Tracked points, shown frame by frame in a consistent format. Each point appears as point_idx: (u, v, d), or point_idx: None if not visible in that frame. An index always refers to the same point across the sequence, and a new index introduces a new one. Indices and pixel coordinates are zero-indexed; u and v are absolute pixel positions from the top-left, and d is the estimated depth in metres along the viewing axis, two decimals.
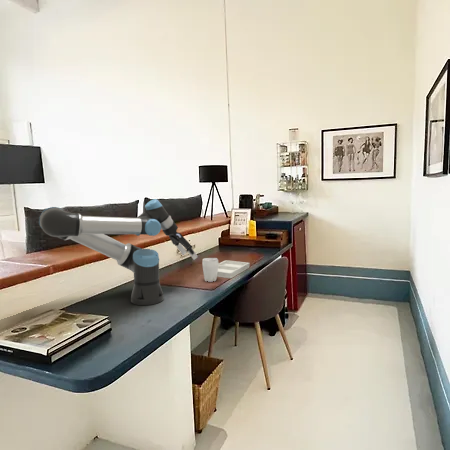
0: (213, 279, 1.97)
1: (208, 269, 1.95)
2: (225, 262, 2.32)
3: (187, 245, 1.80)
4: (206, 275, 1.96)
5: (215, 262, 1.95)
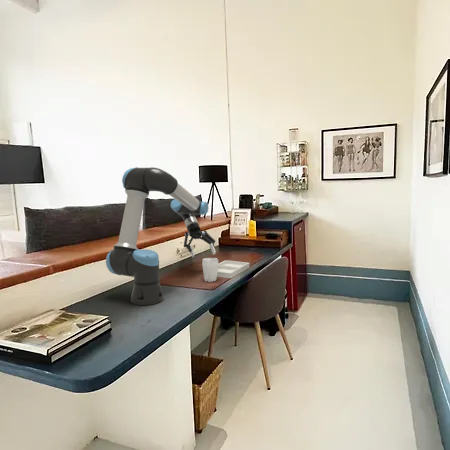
0: (213, 279, 1.97)
1: (208, 269, 1.95)
2: (225, 262, 2.32)
3: None
4: (206, 275, 1.96)
5: (215, 262, 1.95)
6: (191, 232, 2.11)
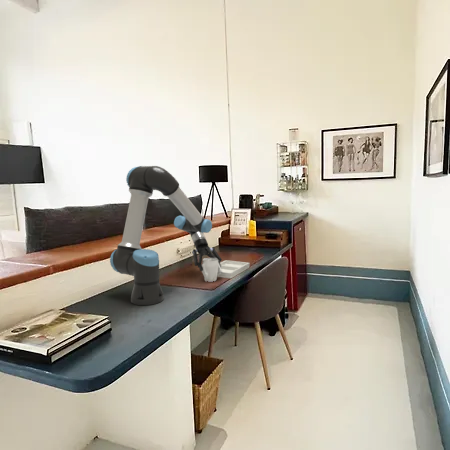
0: (213, 279, 1.97)
1: (208, 269, 1.95)
2: (225, 262, 2.32)
3: None
4: (206, 275, 1.96)
5: (215, 262, 1.95)
6: (198, 248, 2.03)
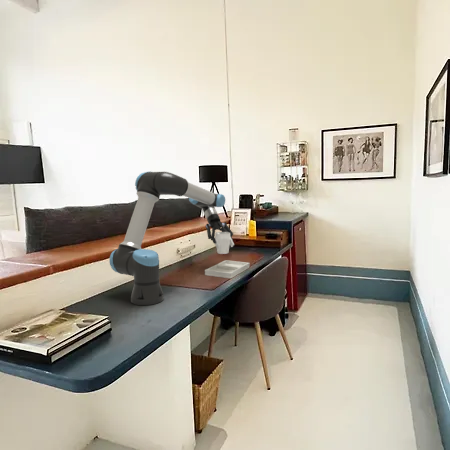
0: (225, 251, 2.08)
1: (221, 242, 2.06)
2: (225, 262, 2.32)
3: None
4: (219, 247, 2.08)
5: (227, 235, 2.07)
6: (211, 223, 2.14)
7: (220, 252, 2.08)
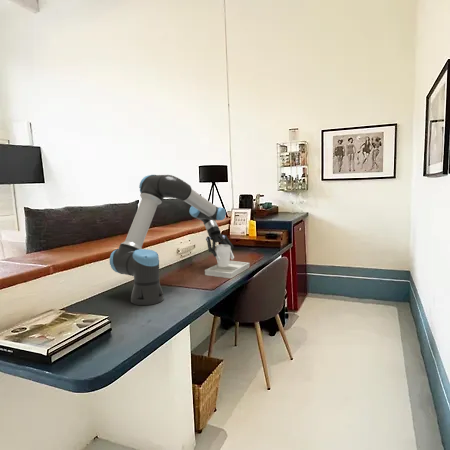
0: (226, 264, 2.10)
1: (221, 255, 2.08)
2: None
3: None
4: None
5: (228, 248, 2.08)
6: (212, 235, 2.16)
7: (220, 265, 2.10)
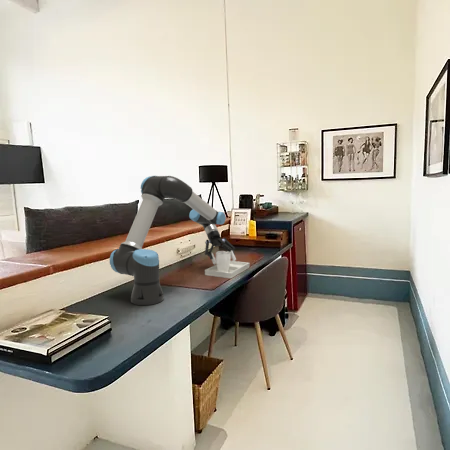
0: (226, 271, 2.10)
1: (221, 262, 2.08)
2: None
3: None
4: (219, 267, 2.10)
5: (228, 255, 2.08)
6: (212, 240, 2.16)
7: None
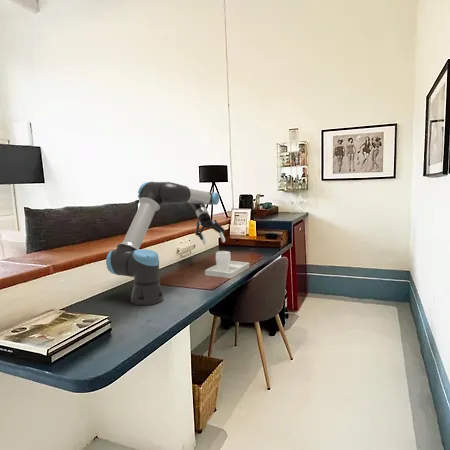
0: (226, 271, 2.10)
1: (221, 262, 2.08)
2: None
3: None
4: (219, 267, 2.10)
5: (228, 255, 2.08)
6: (202, 221, 2.25)
7: None
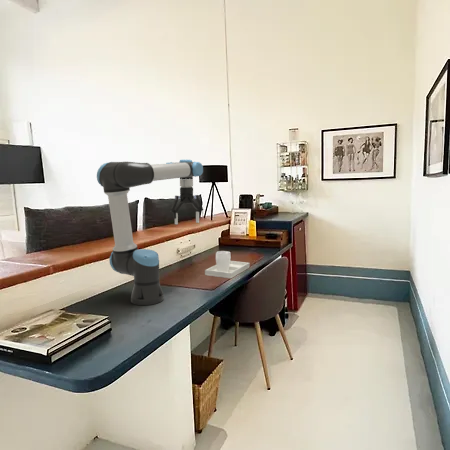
0: (226, 271, 2.10)
1: (221, 262, 2.08)
2: None
3: None
4: (219, 267, 2.10)
5: (228, 255, 2.09)
6: (182, 196, 2.02)
7: None
